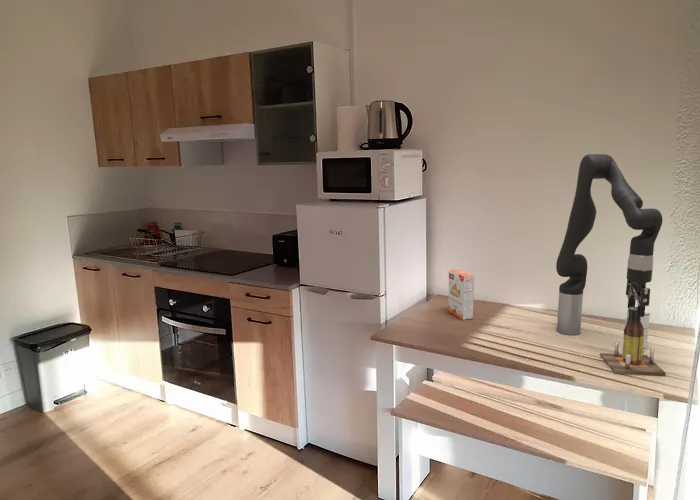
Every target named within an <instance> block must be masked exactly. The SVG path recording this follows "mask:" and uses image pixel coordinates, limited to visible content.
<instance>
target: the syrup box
mask: <svg viewBox="0 0 700 500" xmlns="http://www.w3.org/2000/svg"><path fill="white" fill-rule="evenodd" d="M650 314H651V313H650V312H649V311H646V310H645V315H644V317H641V323H642V325H643V328H644V341H643V349H646V348H647V344H648V335H649V324H650V318H651V317H650V316H651V315H650ZM628 318H629V312H628V309H627V311H626V322H625V325H626V324H627V322H628ZM645 347H646V348H645Z"/></svg>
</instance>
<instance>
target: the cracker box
mask: <svg viewBox="0 0 700 500" xmlns="http://www.w3.org/2000/svg"><path fill="white" fill-rule="evenodd" d="M474 296H475V275H473V274H472V273H469V272H466V271H464V270H462V269H449V270H448V297H447V298H448V304H447V305H448V308H447V309H448V313H450V314H451V313H452V314H451V315H453V316H455V317H456V318H458V319H460V320H462V321H466V319H468V320H474V302H475V301H474V299H475V298H474Z"/></svg>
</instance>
